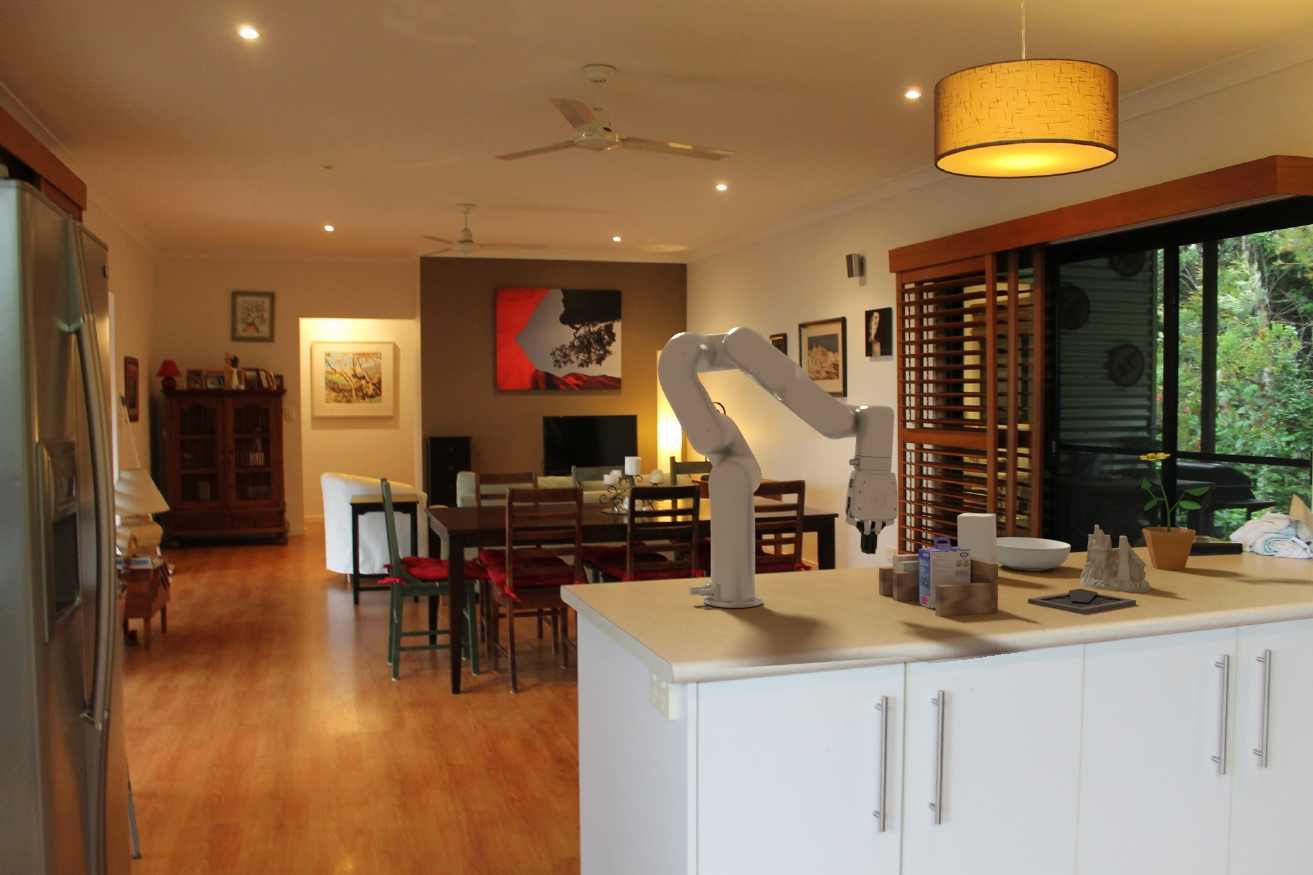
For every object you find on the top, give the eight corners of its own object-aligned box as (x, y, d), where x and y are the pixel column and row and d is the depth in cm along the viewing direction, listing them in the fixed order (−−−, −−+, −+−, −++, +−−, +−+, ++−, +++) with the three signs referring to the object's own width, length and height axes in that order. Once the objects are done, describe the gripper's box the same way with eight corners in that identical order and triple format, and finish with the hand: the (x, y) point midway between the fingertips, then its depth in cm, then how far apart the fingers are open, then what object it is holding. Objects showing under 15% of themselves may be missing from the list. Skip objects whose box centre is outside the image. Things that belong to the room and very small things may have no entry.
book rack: (939, 616, 199) (940, 567, 199) (878, 594, 222) (879, 550, 222) (997, 612, 203) (998, 563, 203) (931, 590, 226) (932, 547, 226)
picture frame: (1080, 597, 222) (1027, 606, 212) (1080, 588, 222) (1027, 596, 212) (1135, 607, 210) (1082, 617, 201) (1136, 598, 210) (1082, 607, 201)
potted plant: (1115, 563, 265) (1116, 452, 264) (1180, 562, 267) (1182, 451, 266) (1155, 574, 248) (1157, 455, 247) (1225, 573, 250) (1227, 454, 249)
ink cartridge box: (958, 602, 214) (958, 535, 213) (972, 607, 208) (973, 538, 208) (917, 604, 211) (917, 537, 211) (930, 609, 206) (931, 540, 206)
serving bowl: (1047, 578, 243) (1047, 550, 243) (970, 568, 259) (970, 542, 258) (1084, 568, 257) (1085, 542, 257) (1009, 559, 273) (1009, 534, 272)
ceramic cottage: (1139, 593, 222) (1139, 527, 222) (1067, 587, 234) (1067, 523, 234) (1165, 589, 232) (1165, 525, 233) (1095, 583, 244) (1095, 522, 245)
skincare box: (997, 576, 246) (998, 513, 246) (991, 580, 240) (991, 516, 240) (963, 573, 251) (964, 512, 250) (956, 576, 245) (956, 514, 244)
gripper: (849, 465, 198) (844, 556, 199) (914, 467, 203) (909, 556, 203) (832, 462, 205) (827, 550, 206) (895, 464, 210) (891, 550, 211)
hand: (868, 552), depth 205 cm, fingers closed
